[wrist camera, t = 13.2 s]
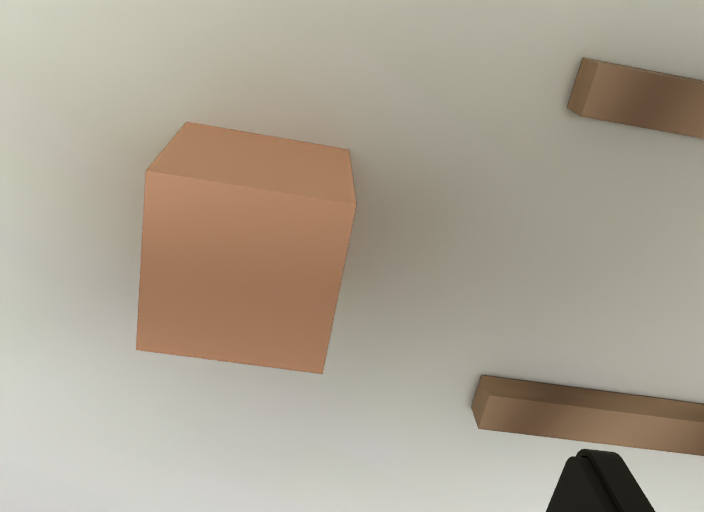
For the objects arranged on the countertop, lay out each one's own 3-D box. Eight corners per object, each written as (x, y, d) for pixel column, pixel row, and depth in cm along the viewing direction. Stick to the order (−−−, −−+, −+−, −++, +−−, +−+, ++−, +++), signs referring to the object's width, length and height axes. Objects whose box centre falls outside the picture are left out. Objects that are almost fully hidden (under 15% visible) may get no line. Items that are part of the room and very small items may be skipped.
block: (348, 148, 20) (356, 204, 15) (322, 288, 22) (322, 374, 18) (187, 121, 19) (145, 170, 15) (175, 267, 21) (136, 350, 17)
